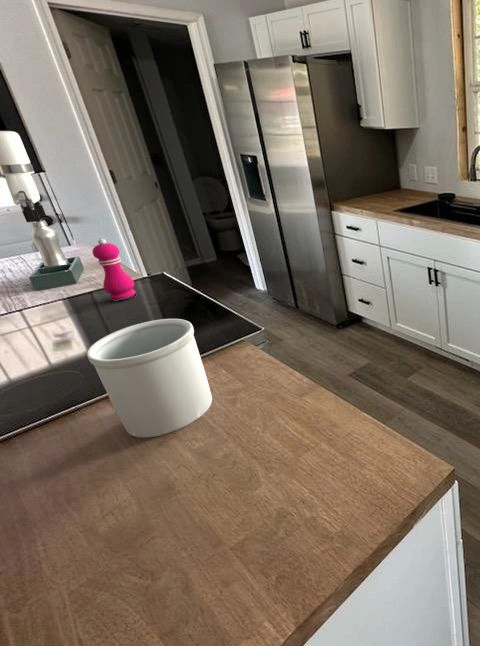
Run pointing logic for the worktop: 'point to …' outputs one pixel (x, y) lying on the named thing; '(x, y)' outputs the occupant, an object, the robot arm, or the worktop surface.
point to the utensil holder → (153, 376)
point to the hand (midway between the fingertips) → (36, 219)
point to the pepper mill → (113, 271)
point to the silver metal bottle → (47, 244)
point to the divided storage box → (57, 274)
